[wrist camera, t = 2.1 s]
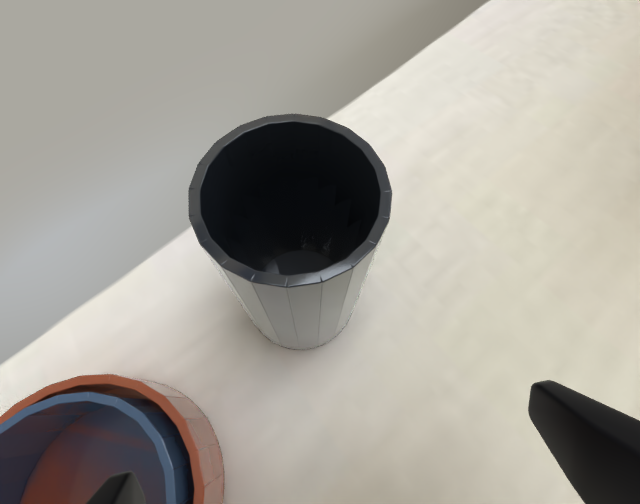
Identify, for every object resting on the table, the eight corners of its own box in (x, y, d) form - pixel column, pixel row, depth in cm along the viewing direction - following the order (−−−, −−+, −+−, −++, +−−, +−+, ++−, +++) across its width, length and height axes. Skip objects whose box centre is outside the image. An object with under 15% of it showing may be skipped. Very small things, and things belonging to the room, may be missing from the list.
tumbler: (324, 369, 21) (336, 325, 10) (228, 318, 23) (145, 227, 11) (370, 275, 24) (420, 156, 13) (281, 233, 25) (256, 90, 14)
